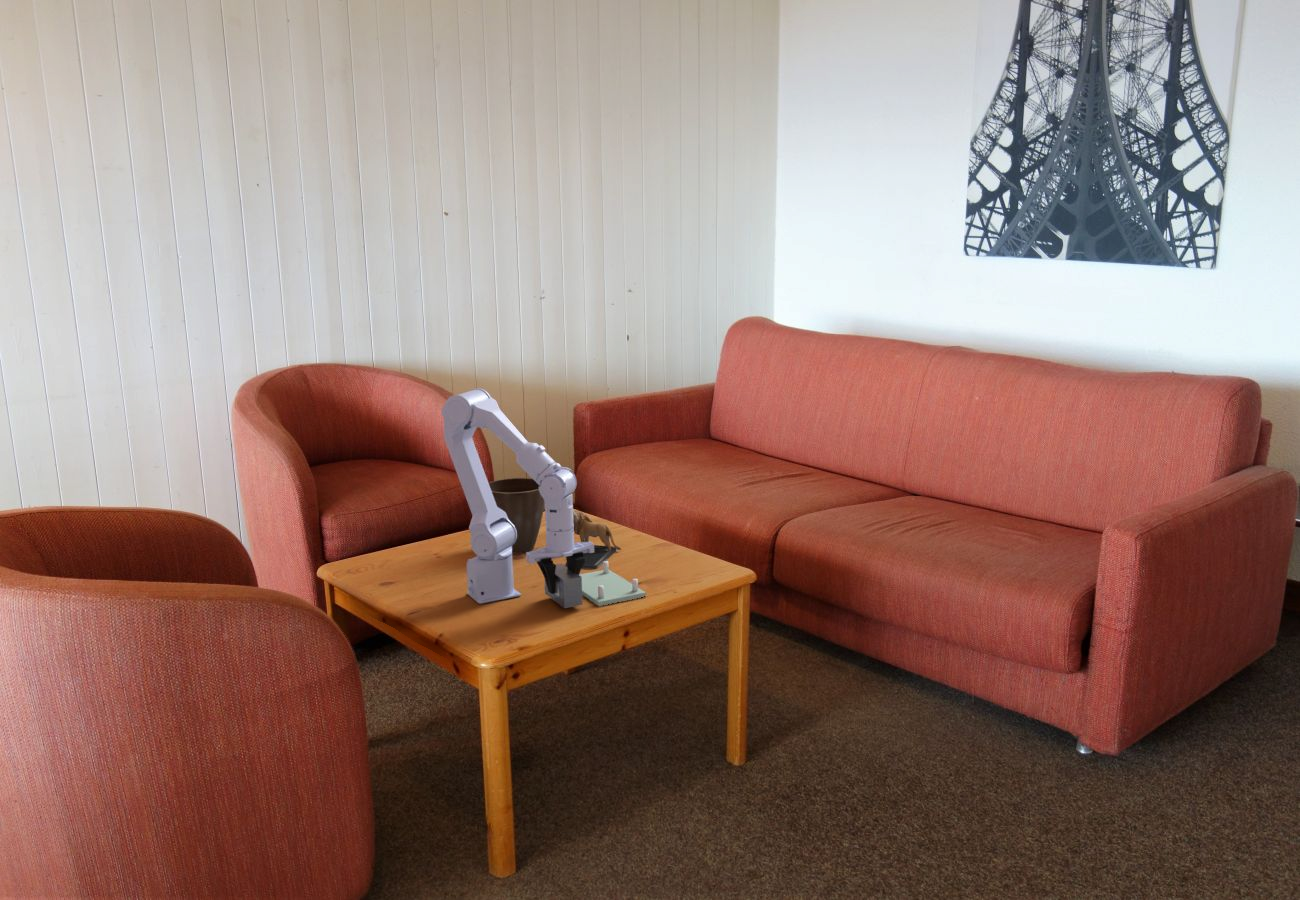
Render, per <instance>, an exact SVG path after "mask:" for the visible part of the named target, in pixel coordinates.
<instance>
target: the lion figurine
mask: <svg viewBox="0 0 1300 900" xmlns="http://www.w3.org/2000/svg"><path fill="white" fill-rule="evenodd" d="M573 523H574V535H577V536H579V540H580V543H582V542H590V537H592V538H598V537H599V539H600V541H601V542H602V543H603V545H604V546H607V548H608V549H607V550H606V551H611V547H612V546H613V547H615V548H616V551H621V550H622V548H621V547H620V546H618V545H616V543H615V541H614V538H613V534H612V531H611V527H610V526H609V524H607V523H606V522H594V521H592V520H591V519H590V517H589V516H587V514H584V513H583V512H581V511H579V510H576V509H573ZM611 543H612V546H611Z"/></svg>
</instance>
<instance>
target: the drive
mask: <svg viewBox="0 0 1300 900" xmlns="http://www.w3.org/2000/svg"><path fill="white" fill-rule="evenodd" d="M554 564H555V563H554ZM555 565H556V570H555V593H554V594H551V593H550V592H548V588H547V584H546V581H545V580H544V593H545V595H546V596H548V597H549V598H550V599H552V600H553V601H554V602H555V603H557V604H558V605H559V606H561V607H562V608H564V609H569V608H572V607H577V606H582V605H583V595H582V577H581V576H580V575H578V574H577V573H575V572H574V571H572V570H571V569H569V568H568V567H566V564H564V563H562V562H561V563H557V564H555Z"/></svg>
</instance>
